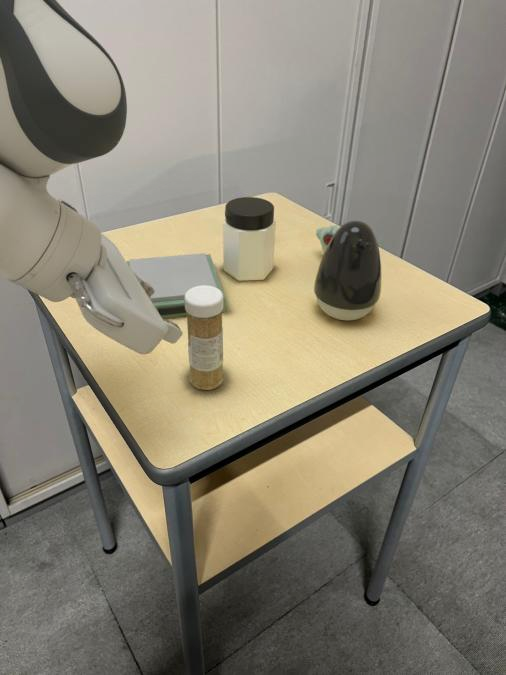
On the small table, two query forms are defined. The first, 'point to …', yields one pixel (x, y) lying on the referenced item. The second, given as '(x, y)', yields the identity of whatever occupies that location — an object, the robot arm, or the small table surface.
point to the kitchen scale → (176, 279)
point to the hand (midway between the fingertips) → (162, 313)
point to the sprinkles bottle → (205, 336)
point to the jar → (248, 238)
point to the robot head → (326, 235)
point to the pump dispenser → (349, 273)
